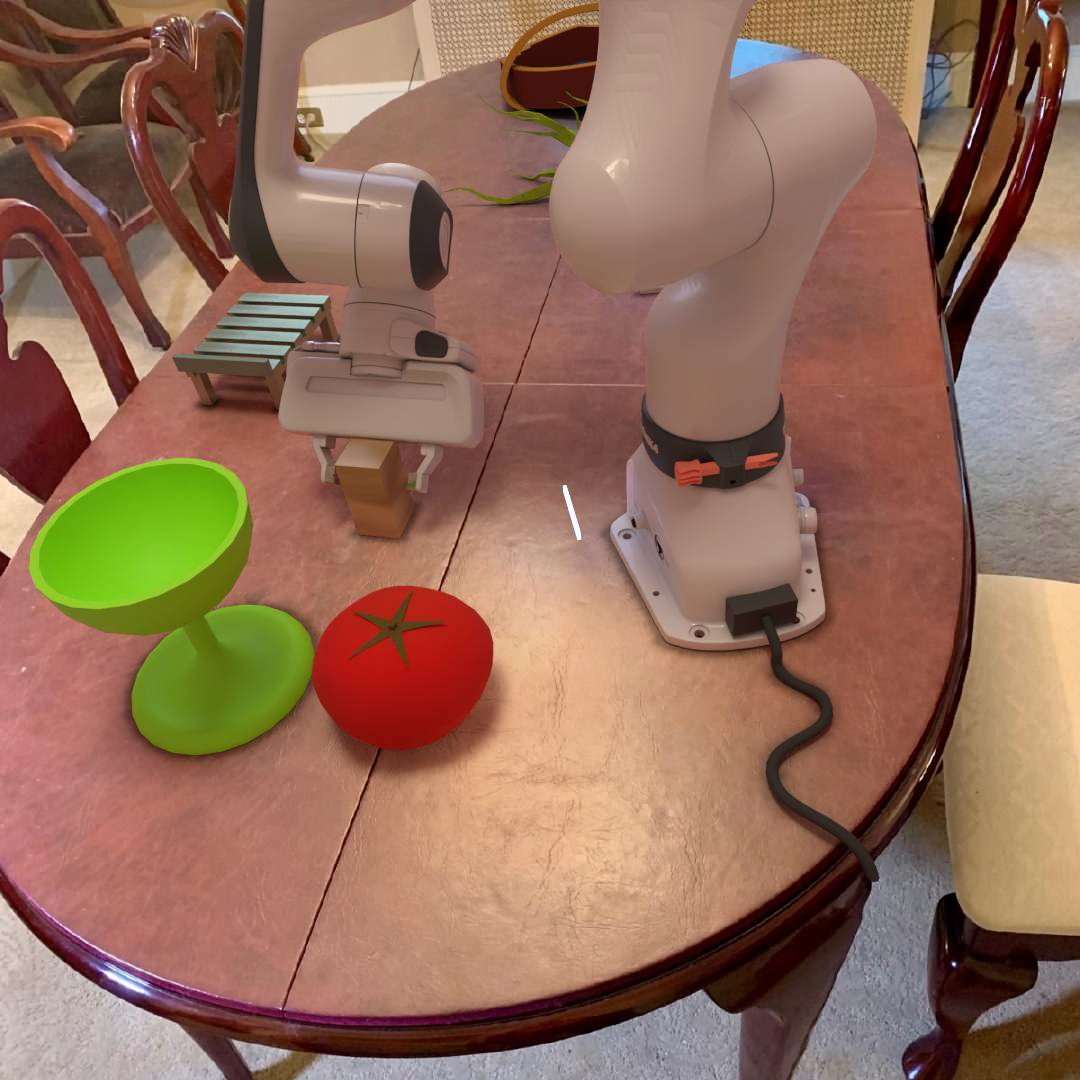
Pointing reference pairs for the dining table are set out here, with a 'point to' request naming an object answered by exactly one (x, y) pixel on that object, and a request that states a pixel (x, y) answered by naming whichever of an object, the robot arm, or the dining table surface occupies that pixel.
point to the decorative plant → (544, 190)
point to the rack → (257, 340)
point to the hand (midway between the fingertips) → (373, 488)
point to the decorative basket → (552, 65)
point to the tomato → (403, 666)
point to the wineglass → (176, 600)
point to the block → (375, 486)
